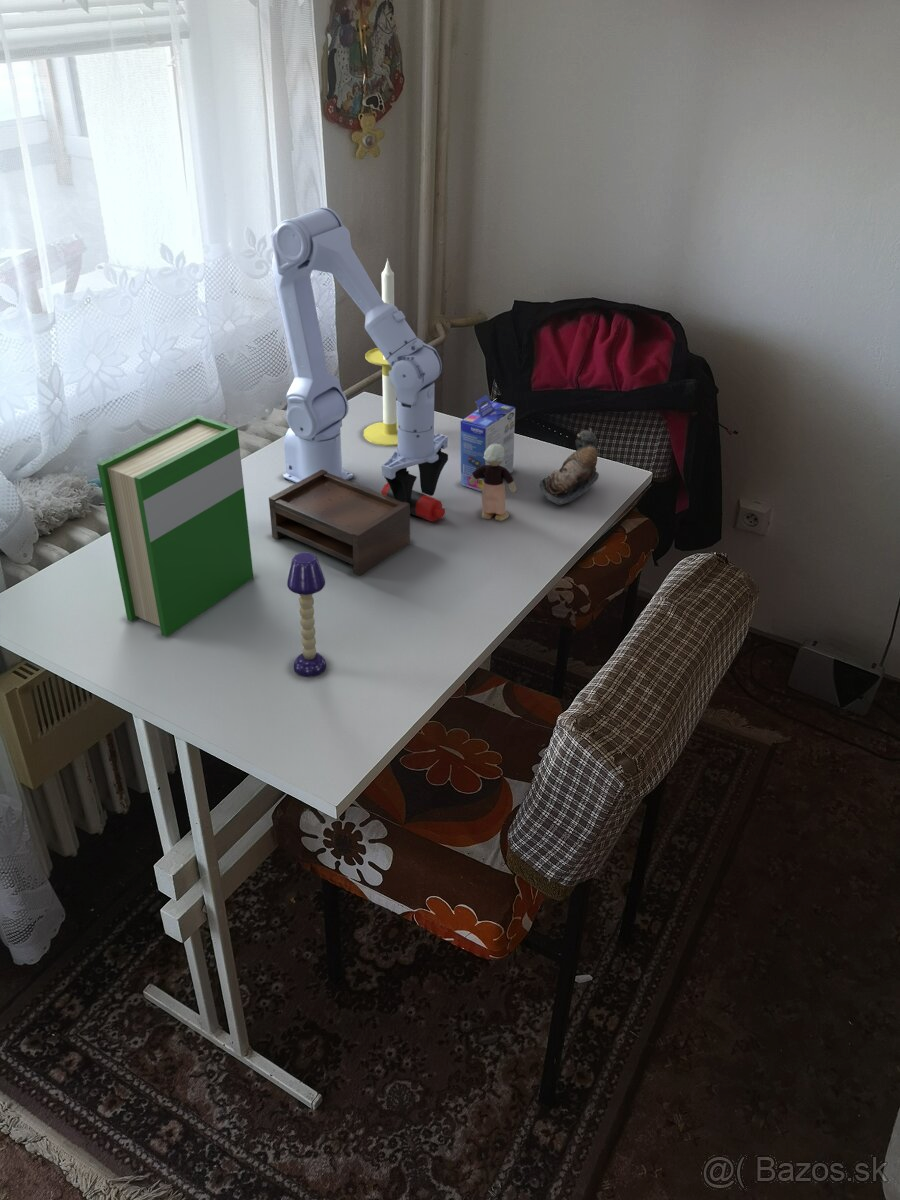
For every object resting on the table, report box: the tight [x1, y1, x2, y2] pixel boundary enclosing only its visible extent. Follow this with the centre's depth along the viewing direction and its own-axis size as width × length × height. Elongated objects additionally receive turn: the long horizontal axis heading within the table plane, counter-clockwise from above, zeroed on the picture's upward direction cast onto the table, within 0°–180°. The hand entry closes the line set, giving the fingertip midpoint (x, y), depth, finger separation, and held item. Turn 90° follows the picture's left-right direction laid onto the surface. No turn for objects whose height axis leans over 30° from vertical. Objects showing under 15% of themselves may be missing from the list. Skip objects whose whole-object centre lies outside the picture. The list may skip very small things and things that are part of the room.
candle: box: [363, 257, 398, 447], centre depth 183 cm, size 10×10×32 cm
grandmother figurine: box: [469, 443, 517, 522], centre depth 164 cm, size 8×4×13 cm, turn 84°
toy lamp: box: [286, 551, 327, 678], centre depth 130 cm, size 5×5×17 cm
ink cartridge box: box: [460, 394, 516, 493], centre depth 174 cm, size 10×6×14 cm, turn 147°
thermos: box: [380, 482, 446, 523], centre depth 167 cm, size 11×4×4 cm
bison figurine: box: [539, 427, 600, 506], centre depth 171 cm, size 12×7×10 cm, turn 142°
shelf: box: [268, 469, 411, 577], centre depth 159 cm, size 18×12×7 cm, turn 53°
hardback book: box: [96, 414, 254, 638], centre depth 140 cm, size 18×7×24 cm, turn 148°
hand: (415, 501), depth 168 cm, fingers open, 6 cm apart
